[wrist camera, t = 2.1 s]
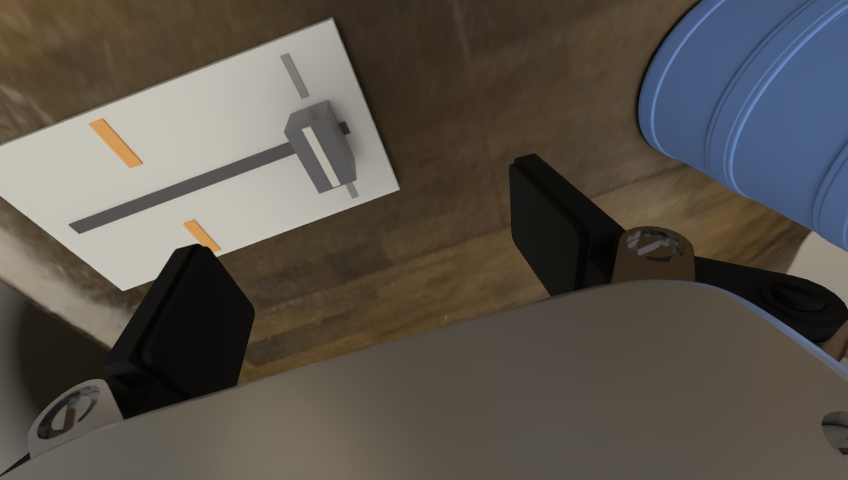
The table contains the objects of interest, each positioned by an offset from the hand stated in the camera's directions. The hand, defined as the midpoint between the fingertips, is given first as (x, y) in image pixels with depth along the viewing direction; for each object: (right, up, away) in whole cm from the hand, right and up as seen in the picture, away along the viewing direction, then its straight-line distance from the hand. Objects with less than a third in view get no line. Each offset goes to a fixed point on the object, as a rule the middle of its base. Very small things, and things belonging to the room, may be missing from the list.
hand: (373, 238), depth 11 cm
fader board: (-16, +6, +19) cm, 26 cm away
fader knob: (-6, +8, +17) cm, 19 cm away
